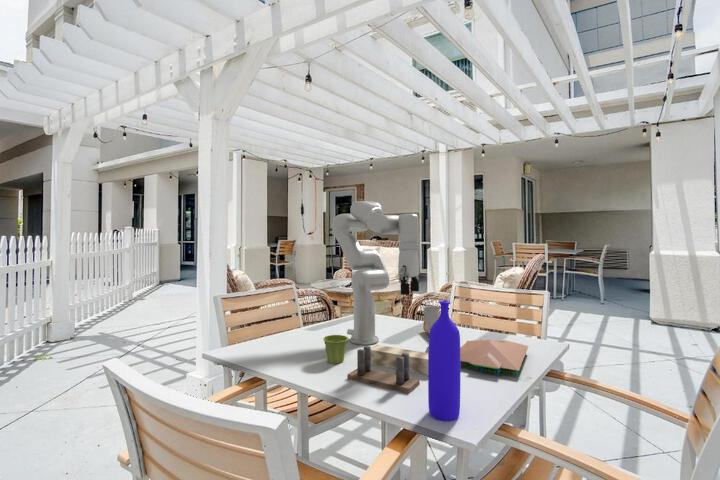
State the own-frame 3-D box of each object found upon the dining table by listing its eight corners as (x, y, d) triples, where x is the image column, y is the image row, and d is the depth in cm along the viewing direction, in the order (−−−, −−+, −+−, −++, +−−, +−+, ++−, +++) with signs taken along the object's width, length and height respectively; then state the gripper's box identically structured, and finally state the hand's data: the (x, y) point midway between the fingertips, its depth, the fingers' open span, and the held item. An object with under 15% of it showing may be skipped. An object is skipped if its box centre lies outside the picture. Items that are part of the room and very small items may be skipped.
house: (447, 370, 133) (447, 347, 133) (470, 345, 161) (470, 326, 161) (517, 383, 121) (517, 358, 121) (528, 354, 150) (528, 333, 150)
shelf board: (369, 364, 138) (369, 349, 138) (377, 359, 144) (377, 345, 144) (433, 376, 127) (433, 360, 127) (438, 370, 133) (439, 354, 132)
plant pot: (351, 358, 144) (351, 336, 144) (342, 367, 135) (342, 342, 135) (329, 356, 147) (329, 333, 147) (318, 364, 138) (318, 340, 138)
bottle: (424, 407, 104) (424, 298, 103) (454, 406, 104) (454, 298, 104) (433, 422, 95) (433, 304, 95) (464, 421, 96) (465, 303, 96)
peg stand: (347, 378, 124) (347, 350, 124) (360, 371, 131) (360, 343, 131) (409, 393, 113) (409, 361, 112) (419, 384, 120) (419, 354, 119)
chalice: (440, 356, 147) (440, 309, 146) (422, 354, 148) (422, 309, 148) (439, 350, 154) (440, 306, 154) (423, 349, 155) (423, 305, 155)
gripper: (408, 246, 151) (409, 289, 151) (390, 247, 136) (391, 295, 135) (426, 246, 147) (427, 290, 147) (409, 247, 132) (411, 296, 132)
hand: (410, 292), depth 141 cm, fingers open, 9 cm apart
